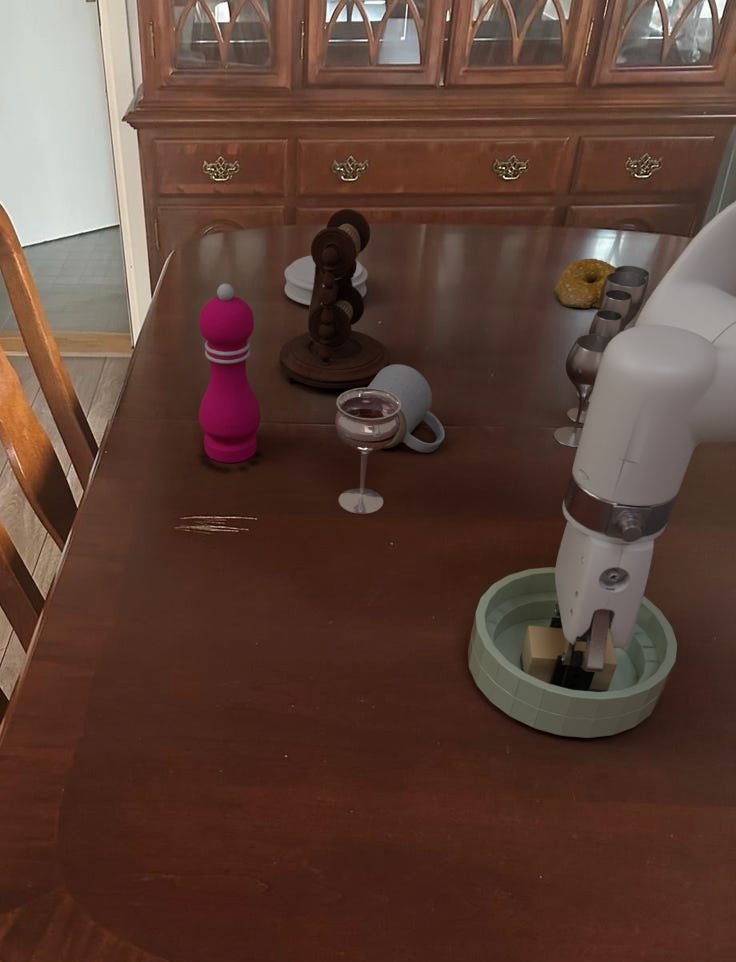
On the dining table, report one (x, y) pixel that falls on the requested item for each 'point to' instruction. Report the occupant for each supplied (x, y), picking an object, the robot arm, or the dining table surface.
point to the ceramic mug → (410, 405)
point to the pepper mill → (228, 379)
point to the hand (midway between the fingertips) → (564, 671)
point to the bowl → (549, 705)
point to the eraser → (550, 643)
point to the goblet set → (601, 340)
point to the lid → (303, 280)
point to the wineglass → (366, 436)
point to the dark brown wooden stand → (335, 314)
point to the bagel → (583, 283)
